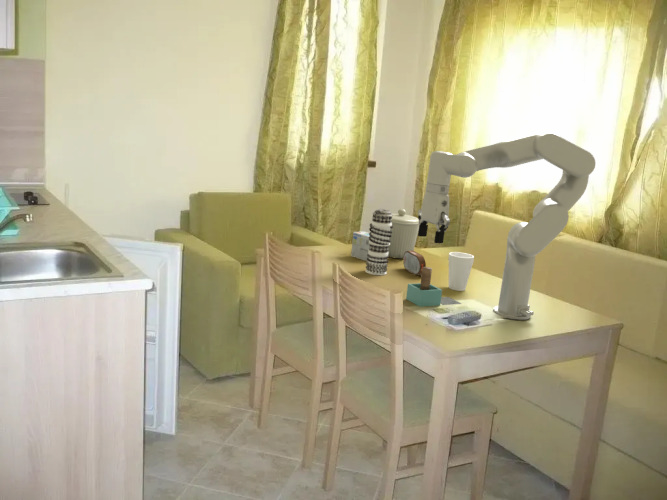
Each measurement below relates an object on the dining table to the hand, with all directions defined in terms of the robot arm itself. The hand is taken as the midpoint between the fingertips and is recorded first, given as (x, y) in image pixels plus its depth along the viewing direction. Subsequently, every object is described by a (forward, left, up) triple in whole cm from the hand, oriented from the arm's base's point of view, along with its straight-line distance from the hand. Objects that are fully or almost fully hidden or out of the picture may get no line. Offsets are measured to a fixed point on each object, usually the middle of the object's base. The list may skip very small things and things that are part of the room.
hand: (430, 239), depth 234 cm
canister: (+65, -30, -23) cm, 75 cm away
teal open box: (0, 0, -23) cm, 23 cm away
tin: (+38, -21, -23) cm, 49 cm away
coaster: (0, -10, -23) cm, 25 cm away
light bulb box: (+62, -12, -23) cm, 67 cm away
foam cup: (+15, -26, -23) cm, 37 cm away
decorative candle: (+40, -5, -23) cm, 46 cm away
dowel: (0, 0, -22) cm, 22 cm away
